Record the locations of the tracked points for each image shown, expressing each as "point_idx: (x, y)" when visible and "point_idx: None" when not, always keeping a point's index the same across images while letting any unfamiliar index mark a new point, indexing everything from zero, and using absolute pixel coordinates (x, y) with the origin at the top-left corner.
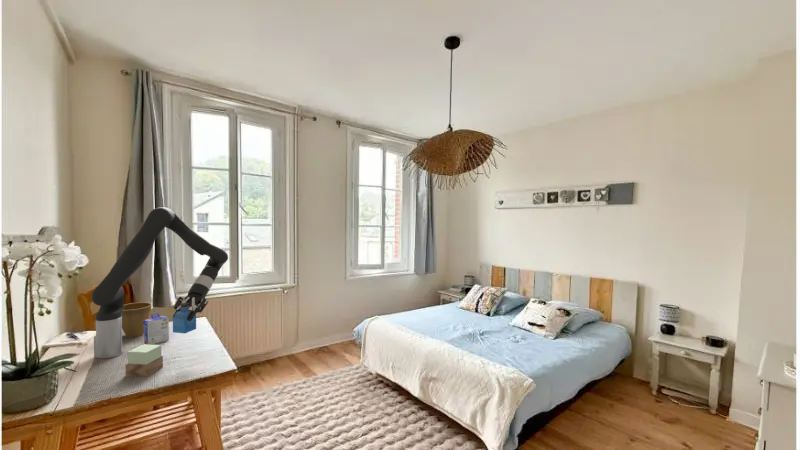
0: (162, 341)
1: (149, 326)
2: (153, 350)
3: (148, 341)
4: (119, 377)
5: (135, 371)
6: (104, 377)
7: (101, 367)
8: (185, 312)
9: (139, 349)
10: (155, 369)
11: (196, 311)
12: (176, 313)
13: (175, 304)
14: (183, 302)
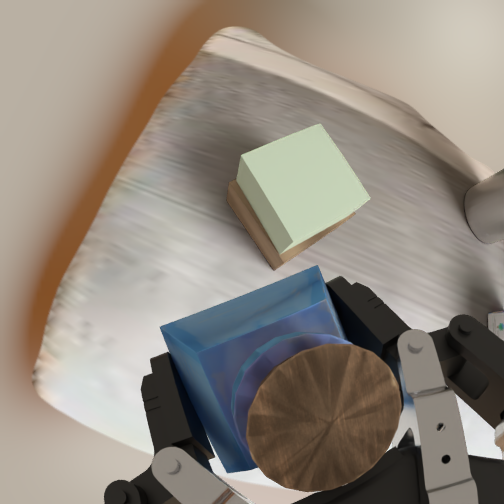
0: None
1: None
2: (262, 195)
3: (497, 314)
4: None
5: None
6: (331, 132)
7: (412, 161)
8: (199, 363)
9: (310, 156)
10: (249, 231)
11: (151, 475)
12: (315, 291)
13: (500, 341)
14: (446, 432)
